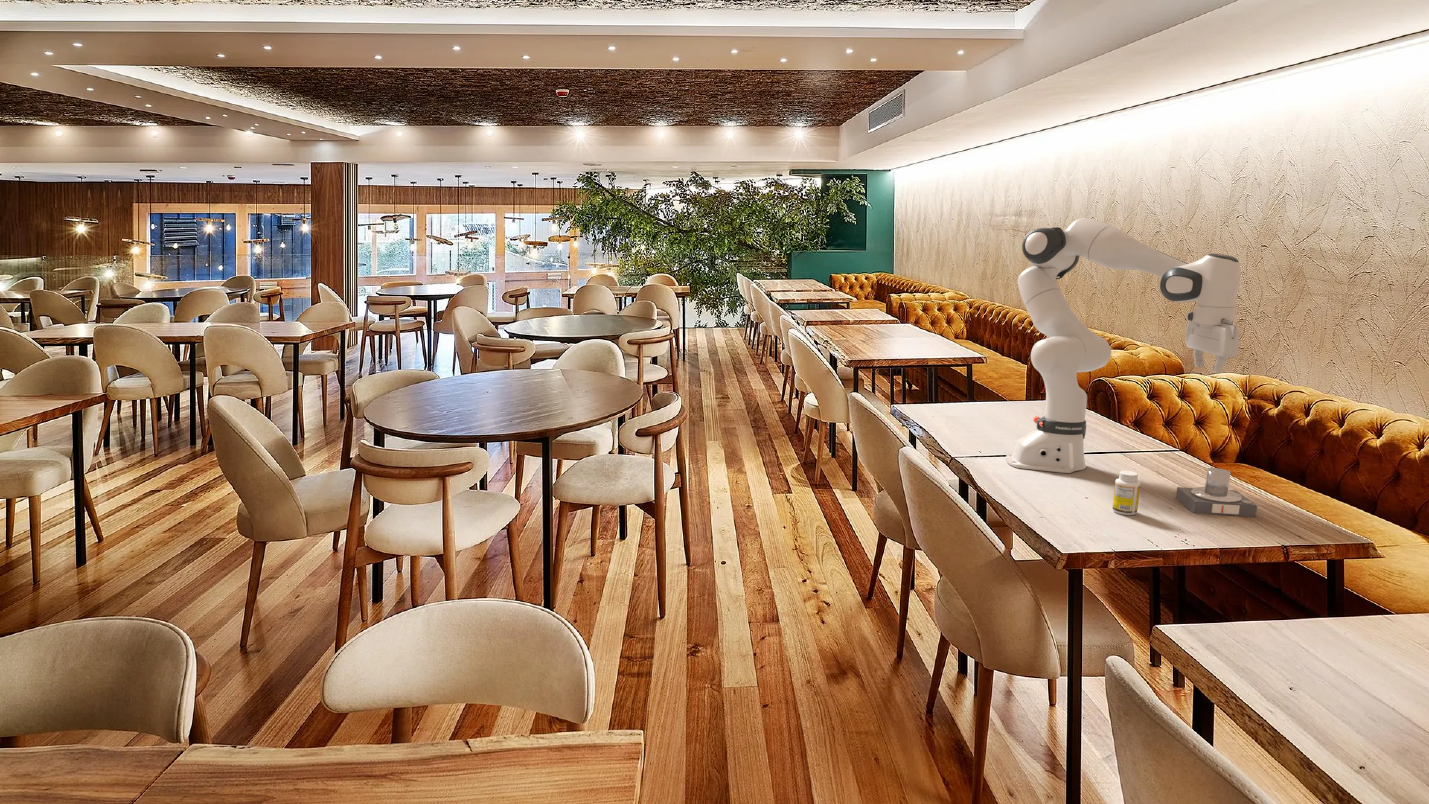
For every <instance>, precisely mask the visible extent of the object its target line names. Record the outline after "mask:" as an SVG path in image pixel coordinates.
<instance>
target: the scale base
mask: <svg viewBox="0 0 1429 804" xmlns="http://www.w3.org/2000/svg"><path fill="white" fill-rule="evenodd" d="M1193 488H1194V487H1183V486H1181V487H1180V486H1177V488H1176V495H1175V499H1177V500H1178V502H1180V503H1182V505H1183V506H1185V507H1186V508H1187V509H1188V510H1190V511H1191V512H1192V513H1193V514H1206V515H1221V516H1236V517H1253V518H1256V515H1257V510H1258V509H1257V508H1258V505H1257V504H1256V503H1255V502H1254V501H1252V500H1251V499H1248V498H1247V497H1246V496H1245V495H1243V494H1241V493H1240V492H1238V491H1237V490H1235V489H1234V490H1233V489H1228V490H1229V491H1232V492H1235V493H1237V494H1239V495H1241V496H1242V500H1241V501H1240V502H1236V503H1222V502H1214V501H1209V500H1205V499H1201V498H1198V497H1196V496H1194V495H1192V494H1191V489H1193Z"/></svg>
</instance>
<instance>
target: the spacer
mask: <svg viewBox="0 0 1429 804" xmlns="http://www.w3.org/2000/svg"><path fill="white" fill-rule="evenodd" d="M1230 479H1231V470H1227V469H1224V468H1217V467H1209V468H1207V470H1206V477H1205V484H1204V487H1205V490H1204V492H1205V493H1206V494H1209V495H1212V496H1219V497H1224V496H1227V493H1228V490H1229V485H1230Z"/></svg>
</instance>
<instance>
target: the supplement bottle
mask: <svg viewBox="0 0 1429 804" xmlns="http://www.w3.org/2000/svg"><path fill="white" fill-rule="evenodd" d="M1118 477H1119V478H1116V479H1115V481H1114V482H1115V483H1114V491H1113V492H1114V493H1113V501H1112V510H1113V512H1115V513H1117V514H1118V515H1123V516H1135V515H1136V514H1137V513H1138V507H1139V498H1140V492H1141V491H1140V490H1141V482H1140V481H1139V480H1138V473H1137V472H1135V471H1131V470H1130V471H1129V470H1121V471H1119V476H1118Z"/></svg>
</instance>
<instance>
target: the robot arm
mask: <svg viewBox="0 0 1429 804" xmlns="http://www.w3.org/2000/svg"><path fill="white" fill-rule="evenodd" d="M1021 249H1022V253H1023V255H1024V257H1025V258H1026V259H1027V261H1028V262H1031V264H1030V265H1029V267H1027V268H1026V269H1024V270H1023V271H1022V272H1020V274H1019V275H1018V277H1017V286H1018V287H1017V288H1018V291H1019V294H1020V298H1021V300H1022V303H1023V305H1024V307H1025V309H1026V312H1027V313H1028V316H1029V318H1030V320H1031V322H1032V323H1033V325H1034V328H1035V330H1037V332H1039V333H1041V334H1043V335H1044V336H1046V338H1044V339H1041V340H1038V341H1036V343H1034V344H1033V346H1032V349H1031V352H1030V360H1031V364H1032V366H1033V367H1034V369H1035V370H1036V371H1037V372H1039V374H1040V375H1041V377H1042V380H1043V382H1044V383H1043V384H1044V387H1045V410H1044V416H1042V417H1040V416H1038V415H1035V416H1034V417H1033V418H1032V420H1033V422H1034V423H1035V424H1036V428H1035V429H1034V430H1032V431H1030V432H1029V433H1027V434H1025V435H1024V436H1022V437H1020V438H1019V439H1018V440H1017V442H1016V444H1015V446H1014V451H1013V452H1011V453H1007V454H1006V455H1005V461H1006V463H1008V465H1010V466H1011V467H1013V468H1017V469H1026V470H1034V471H1043V472H1044V471H1045V472H1055V473H1063V474H1064V473H1065V474H1071V473H1073V472H1076V471H1083V470H1085V469H1086V468H1087V464H1086V459H1085V451H1084V449H1085V448H1084V441H1085V438H1086V437H1085V436H1086V434H1087V420H1086V412H1087V404H1088V403H1087V401H1088V394H1087V393H1086V392H1087V391H1085V390H1084V389H1083V388H1081V387H1080V386H1079V382H1078V377H1077V375H1078V374H1077V373H1088V372H1093V371H1096V370H1098V369H1102V368H1103V367H1105V366H1107V364H1108V363H1109V362H1110V360H1111V355H1112V349H1111V345H1110V344H1109V342H1108V341H1107V339H1105V338H1104V337H1102V336H1099V335H1098V334H1097V333H1095V332H1093V331H1092V330H1091V329H1090V328H1088V326H1086V324H1085V323H1083V322H1082V320H1081V319H1079V318H1078V316H1077V315H1076V313H1075V312H1074V311H1073V310H1072V308H1071V305H1070V304H1069V303H1068V300H1067V298H1066V297H1065V295H1064V293H1063V291H1062V289H1061V287H1060V286H1059V283H1058V282H1057V281H1058V280H1060V279H1062V278H1063V277H1064V276H1065V275H1066V274H1067V273H1069V272H1071V271H1072V270H1073V269H1074V268H1075V267H1076V266H1077V264H1078V262H1079V260H1080V257H1082V258H1085V259H1086V260H1088V261H1090V262H1092V263H1094V264H1096V265H1098V266H1101V267H1104V268H1108V269H1112V270H1125V271H1126V270H1128V271H1130V270H1131V271H1138V272H1139V271H1141V272H1144V273H1148V274H1150V275H1153V276H1156V277H1158V278H1161V279H1160V281H1159V290H1160V293H1161V294H1162V296H1163V297H1164V298H1165V299H1166V300H1169V301H1171V302H1174V303H1192V302H1196V308H1195V309H1194V310H1193V309H1192V310H1191V311H1189V312H1187V313H1186V321H1188V322H1187V324H1186V328H1185V338H1184V339H1185V340H1184V342H1185V345H1186V348H1189V349H1193V351H1192V354H1193V359H1194V363H1193V364H1194V366H1195V367H1197V368H1203V367H1205V360H1204V355H1203V354H1205V353H1207V354H1211V355H1214V356H1215V360H1216V361H1215V364H1214V365H1212V373H1216V374H1222V373H1223V370H1224V366H1225V364H1226V363H1227V361H1228V358H1236V357H1237V355H1238V354H1239V350H1240V349H1239V347H1240V330H1239V329H1238V326H1237V325H1236V323H1235V318H1236V310H1237V302H1236V300H1237V294H1238V292H1239V289H1240V280H1241V264H1240V261H1239V260H1238V259H1237V258H1236V257H1235V256H1231V255H1229V254H1222V253H1207V254H1206V255H1205V256H1203V257H1202V258H1200V259H1198V260H1196V261H1193V262H1190V263H1188V262H1185V261H1183V260H1181V259H1178V258H1176V257H1173V256H1171V255H1168V254H1166V253H1164V252H1161V251H1159V250H1158V249H1154V248H1153V247H1151V246H1150V245H1147V244H1146V243H1144V242H1143V241H1140V240H1138V239H1137V238H1135V237H1134V236H1132V235H1130V234H1128V233H1127V232H1125V231H1122V230H1121V229H1119V228H1117V227H1115V226H1113V225H1111V224H1108V223H1105V222H1103V221H1100V220H1096V219H1093V218H1089V217H1088V218H1087V217H1080V218H1079V217H1078V218H1077V219H1075V220H1074V221H1072V223H1070V225H1068V227H1067V228H1066V229H1065V230H1063V229H1062V227H1059V226H1055V227H1041V228H1036V229H1032V230H1031V231H1029V232H1028V233H1027V234H1026V235H1025V237H1024V238H1023V240H1022V243H1021Z"/></svg>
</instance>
